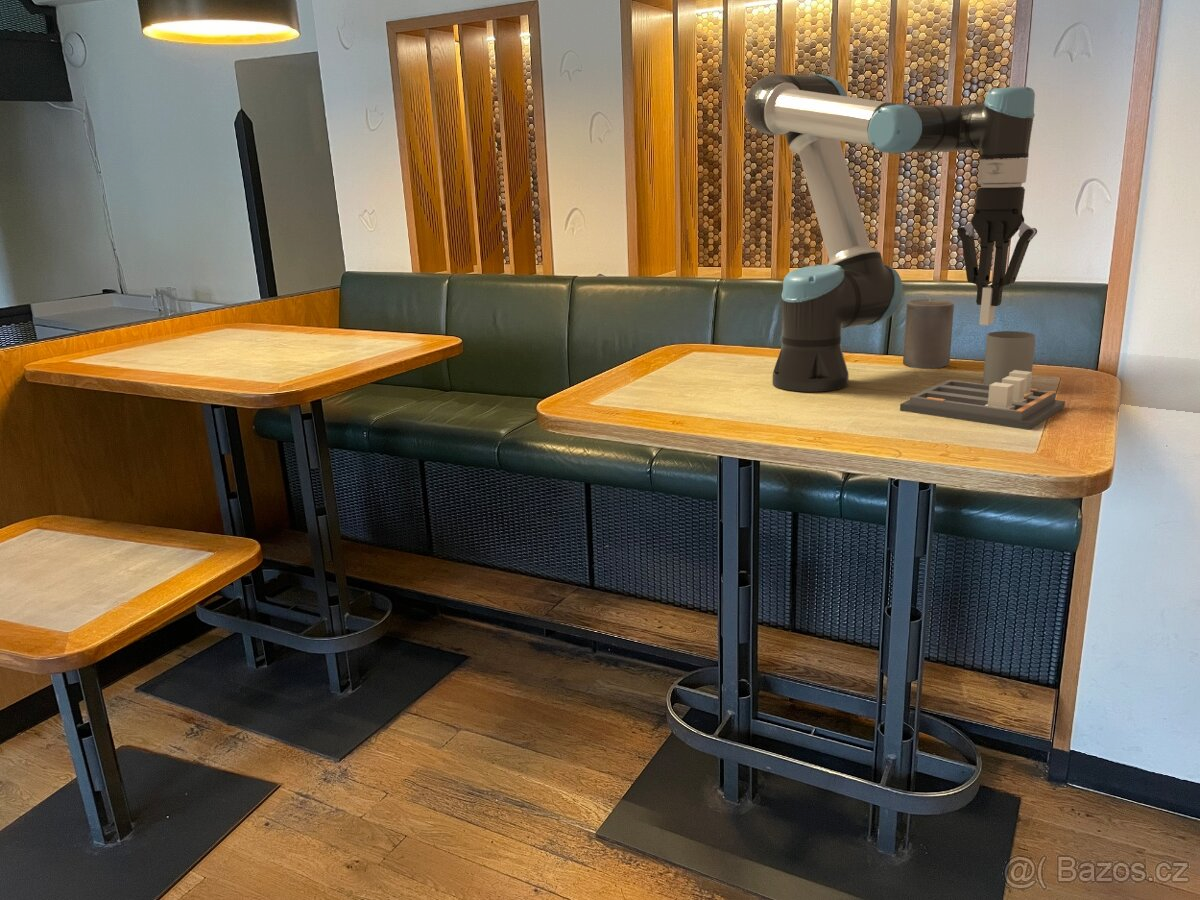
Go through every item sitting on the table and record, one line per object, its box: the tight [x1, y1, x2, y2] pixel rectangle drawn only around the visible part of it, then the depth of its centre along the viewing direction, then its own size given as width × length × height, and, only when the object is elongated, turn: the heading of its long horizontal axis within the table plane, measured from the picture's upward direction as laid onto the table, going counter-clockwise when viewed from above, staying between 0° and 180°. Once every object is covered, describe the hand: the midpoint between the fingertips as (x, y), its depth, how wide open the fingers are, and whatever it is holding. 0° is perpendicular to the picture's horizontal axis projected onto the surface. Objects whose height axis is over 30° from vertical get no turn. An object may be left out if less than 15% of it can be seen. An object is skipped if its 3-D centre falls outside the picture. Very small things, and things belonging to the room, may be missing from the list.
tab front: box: [985, 382, 1015, 410], centre depth 144 cm, size 4×3×5 cm
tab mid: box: [1002, 376, 1027, 403], centre depth 148 cm, size 4×3×5 cm
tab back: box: [1009, 370, 1033, 396], centre depth 152 cm, size 4×3×5 cm
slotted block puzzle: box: [899, 379, 1066, 431], centre depth 152 cm, size 22×17×3 cm
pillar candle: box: [902, 295, 956, 370], centre depth 188 cm, size 10×10×15 cm
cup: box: [982, 330, 1036, 385], centre depth 167 cm, size 8×8×10 cm
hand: (986, 323), depth 154 cm, fingers closed
